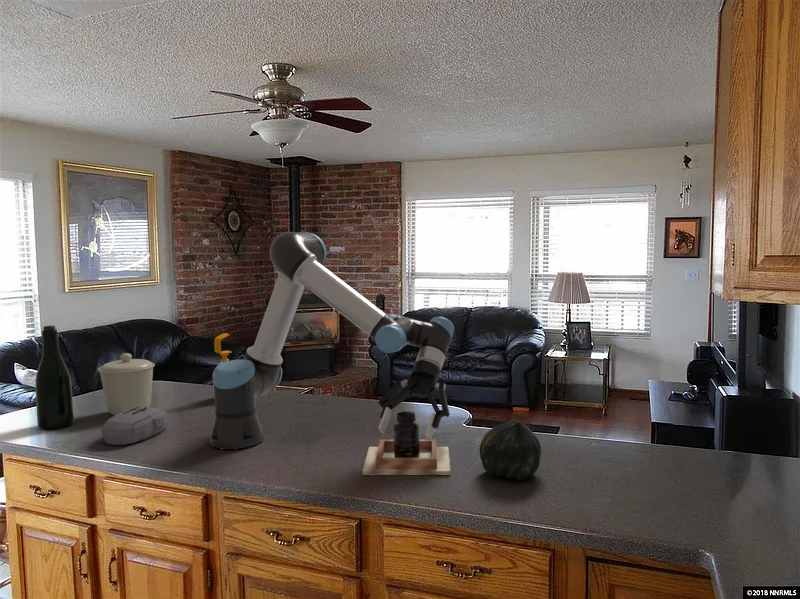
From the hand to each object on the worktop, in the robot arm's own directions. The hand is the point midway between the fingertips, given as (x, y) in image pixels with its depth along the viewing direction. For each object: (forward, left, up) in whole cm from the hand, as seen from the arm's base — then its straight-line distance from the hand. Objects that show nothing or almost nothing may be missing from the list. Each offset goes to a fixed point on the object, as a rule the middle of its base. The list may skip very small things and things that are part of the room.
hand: (403, 434), depth 159 cm
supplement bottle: (+1, +2, -7) cm, 7 cm away
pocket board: (+1, +2, -8) cm, 8 cm away
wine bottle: (-115, +35, -8) cm, 121 cm away
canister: (-98, +50, -8) cm, 110 cm away
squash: (+27, -6, -8) cm, 29 cm away
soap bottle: (-70, +69, -8) cm, 99 cm away
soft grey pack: (-84, +24, -9) cm, 88 cm away
